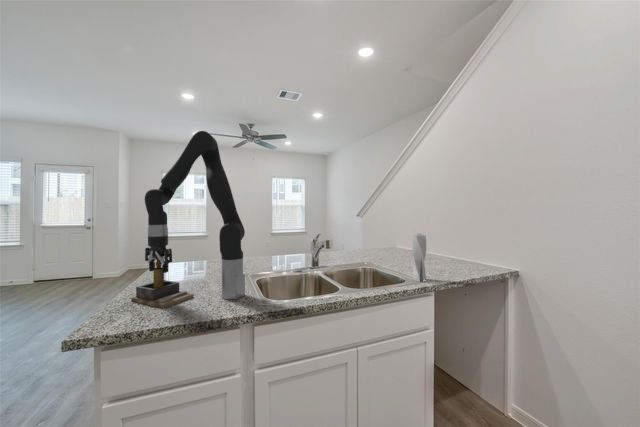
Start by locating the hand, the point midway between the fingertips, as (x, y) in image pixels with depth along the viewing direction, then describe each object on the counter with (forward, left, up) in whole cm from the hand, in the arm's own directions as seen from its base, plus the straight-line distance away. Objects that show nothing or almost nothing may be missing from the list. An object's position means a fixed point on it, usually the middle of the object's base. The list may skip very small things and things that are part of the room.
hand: (158, 271), depth 111 cm
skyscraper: (-105, -79, -12) cm, 132 cm away
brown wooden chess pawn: (0, 0, -10) cm, 10 cm away
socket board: (-3, 0, -12) cm, 12 cm away
